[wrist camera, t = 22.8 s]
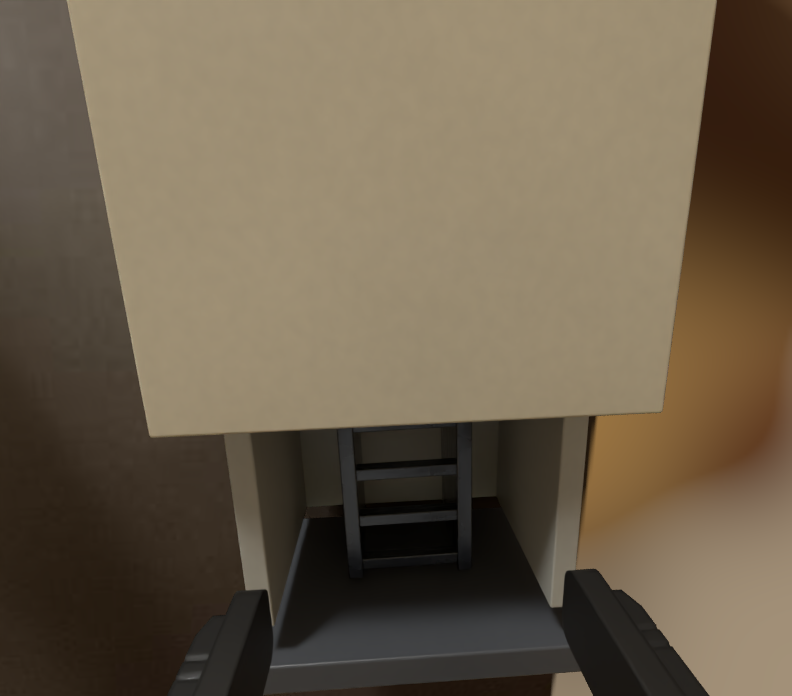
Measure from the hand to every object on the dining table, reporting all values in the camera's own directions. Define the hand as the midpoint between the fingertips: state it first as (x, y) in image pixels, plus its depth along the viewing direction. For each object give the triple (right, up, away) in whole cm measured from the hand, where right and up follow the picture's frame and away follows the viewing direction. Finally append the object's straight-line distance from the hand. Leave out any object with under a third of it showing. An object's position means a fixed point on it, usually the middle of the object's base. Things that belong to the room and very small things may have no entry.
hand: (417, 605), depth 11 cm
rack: (0, +2, +9) cm, 9 cm away
